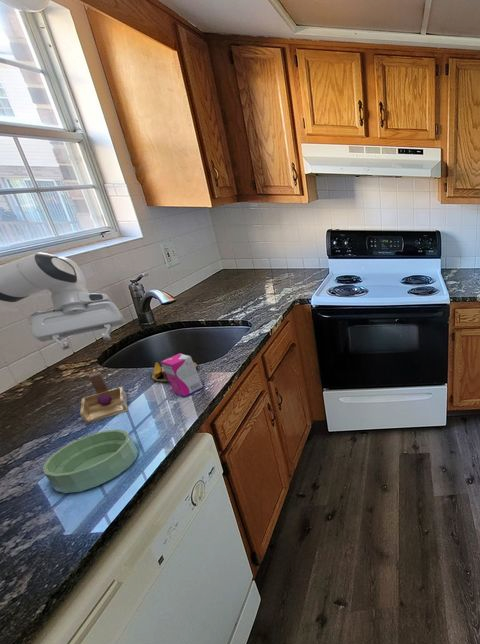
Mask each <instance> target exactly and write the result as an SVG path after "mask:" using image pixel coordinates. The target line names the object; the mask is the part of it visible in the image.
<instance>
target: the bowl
mask: <svg viewBox="0 0 480 644" xmlns="http://www.w3.org/2000/svg"><path fill="white" fill-rule="evenodd" d="M138 453H139V450H138V448H137V447H136V444H135V442H134V441H133V438H132V437H131V435H130V434H129V432H128V431H127V430H122V429H109V430H102V431H99V432H95V433H92V434H88V435H86V436H83V437H81V438H79V439H76V440H74V441H72V442H70V443H68V444H66V445H65V446H62V447H61V448H59V449H58V450H57V451H55V452H54V453H52V455H50V456H49V457H48V458H47V459H46V460H45V462H44V464H43V466H42V472H43V473H44V475H45V477H46V478H47V480H48V482H49V483H50V484H51V486H52V488H53V489H54V490H55V491H56V492H60V493H62V494H63V493H64V494H69V493H79V492H83V491H86V490H89V489H93V488H95V487H98V486H100V485H102V484H105V483H106V482H109V481H110V480H112V479H115V478H116V477H117V476H119V475H120V474H122V473H123V472H125V471H126V470H127V469H129V468H130V467H131V465H132V464H133V463H135V461H136V460H137V457H138Z"/></svg>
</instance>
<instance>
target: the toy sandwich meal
mask: <svg viewBox="0 0 480 644" xmlns="http://www.w3.org/2000/svg"><path fill="white" fill-rule="evenodd" d="M193 363H194V366H195V368H196V369H197V367H198V365H197V363H196V362H194V361H193ZM153 370H154V371H153V372H154V373H152V375H151V379H152V380H154V381H158V382H160V383H168V382H169V380H168V377H167V375H166V373H165V371H164V368H163V366H161V365H160V364H159V362H155V364H154V369H153ZM169 383H170V382H169Z"/></svg>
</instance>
